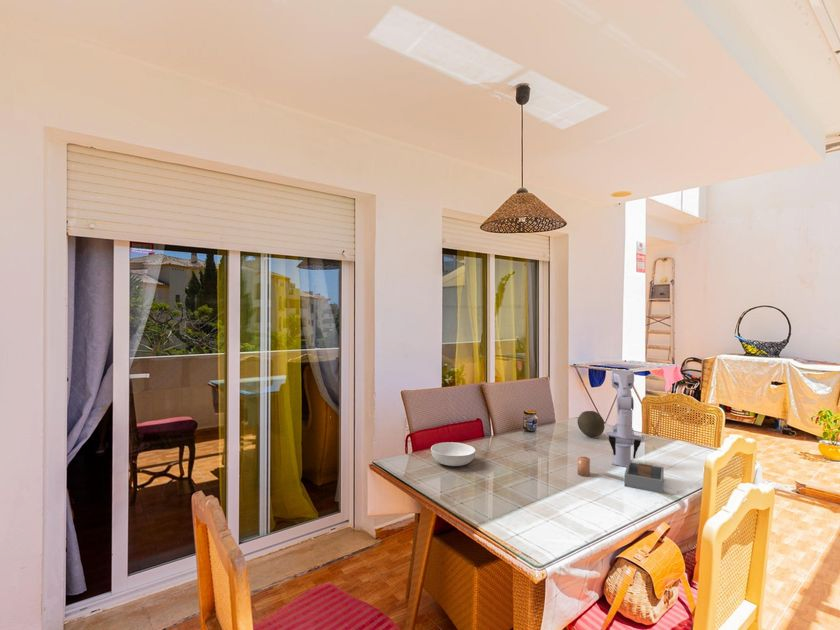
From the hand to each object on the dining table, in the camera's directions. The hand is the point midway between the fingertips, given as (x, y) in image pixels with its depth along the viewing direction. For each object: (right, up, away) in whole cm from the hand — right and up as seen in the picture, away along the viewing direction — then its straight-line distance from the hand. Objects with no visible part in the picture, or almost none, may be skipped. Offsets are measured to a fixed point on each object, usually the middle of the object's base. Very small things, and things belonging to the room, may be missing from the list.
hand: (624, 456), depth 185 cm
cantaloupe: (+10, -10, +61) cm, 63 cm away
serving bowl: (-73, -9, +16) cm, 75 cm away
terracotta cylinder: (-16, -9, +4) cm, 19 cm away
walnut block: (+8, -9, -2) cm, 12 cm away
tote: (+6, -10, -5) cm, 12 cm away
